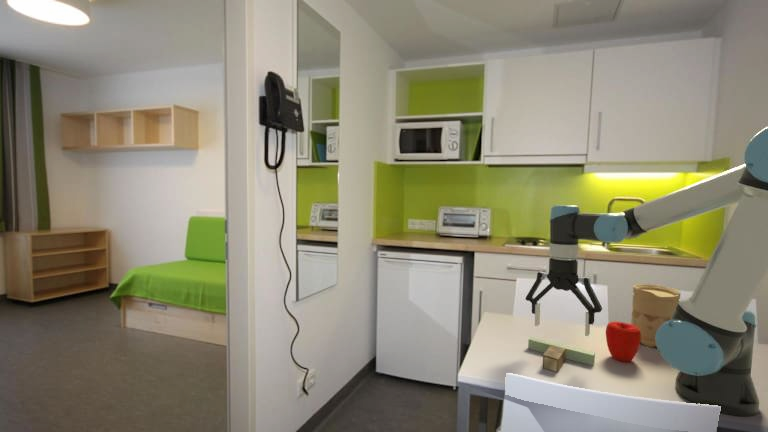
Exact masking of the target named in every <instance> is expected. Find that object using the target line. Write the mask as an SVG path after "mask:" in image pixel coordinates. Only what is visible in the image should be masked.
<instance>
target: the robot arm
mask: <svg viewBox="0 0 768 432" xmlns="http://www.w3.org/2000/svg"><path fill="white" fill-rule="evenodd" d="M743 157H744V164H742V165H739V166H737V167H734V168H731V169H729V170H725V171H724V172H722V173H719V174H717V175H713V176H711V177H709V178H708V177H707V178H706V179H703V180H701V181H698V182H695V183H693V184H690V185H687V186H686V187H683V188H680V189H678V190H675V191H672V192H670V193H667V194H664V195H662V196H659V197H657V198H654V199H652V200H649V201H647V202H643V203H642V204H641V203H640V204H638V205H636V206H635V207H632V208H629V209H626V210H623V211H620V212H604V213H603V212H601V213H600V212H599V213H597V212H592V213H591V212H581V211H580V207H579V206H578V205H569V204H568V205H561V204H560V205H557V204H556V205H553V206H552V207H551V208H550V210H551V211H550V219H549V224H550V225H549V227H550V229H549V234H550V235H549V236H550V237H549V238H550V240H549V253H548V254H549V256H550V258H549V260H548V272H544V271H542V270H541V271H539V272H537V273H536V280H535V281H534V283H533V285H532V286H531V288H530V289H529V292H528V293H527V295H526V297H525V301H529V302H530V303H531V314H533V315H534V326H535V327H538V326H539V325H540V324H541V302H539V301H540V300H541V299H542V298H543V297H544V296H545V295H546V294H547V293H548V292H550V291H551V289H553V288H554V289H556V290H562V291H566V292H568V291H570V292H571V293H572V294H574V296H576V298H577V299H578V301H579V302H580V303H581V304H582V305H583V307H584V308H585V309H586V310H587V311H586V312H585V321H584V322H585V325H584V336H585V337H589V335H590V327H591V325H594V323H595V314H596V313H601V312H602V311H603V306H602V304H601V303H600V301H599V299H598V297H597V295H596V292H595V290H594V288H593V286H592V284H591V278H590V277H589V276H585V277H584V276H583V277H582V276H579V275H578V266H579V262H578V259H577V258H579V240H580V241H581V240H585V241H592V242H602V243H613V244H615V243H616V244H618V243H621V242H623V241H624V240H631V239H636V238H638V237H640V236H642V235H643V234H647V233H648V232H651V231H655V230H658V229H661V228H664V227H667V226H670V225H672V224H677V223H679V222H682V221H685V220H688V219H691V218H694V217H698V216H700V215H704V214H707V213H710V212H714V211H717V210H719V209H723V208H726V207H729V206H732V205H736V204H737V206H736V207H735V209H734V211H733V213H732V215H731V217H730V219H729V221H728V223H727V225H726V227H725V229H724V231H723V233H722V235H721V237H720V238H719V241H718V243H717V245H716V247H715V249H714V251H713V253H712V255H711V257H710V259H709V261H708V262H707V265H706V267H705V269H704V270H703V273H702V275H701V276H700V278H699V280H698V283H697V284H696V286H695V288H694V290H693V291H692V293H691V296H690V297H685V298H680V299H679V303H678V305H677V307H676V308H675V310H674V312H673V314H672V316H671V318H670V320H669V321H666V322H665V323H663V324H662V325H661V326H660V327H659V328H658V330H657V332H656V336H655V341H656V348H657V350H658V351H659V353H660V356H661V357H662V358H663V359H664V360H665V361H666V363H668V365H670V366H671V367H673V369H676V370H677V371H679V372H678V373H677V374H676V377H675V381H674V382H675V385H674V388H675V390H676V391H677V393H678V394H679V395H681V396H682V397H683V398H685V399H687V400H688V401H690V402H692V403H694V404H696V403H700V404H709V405H718V406H721V412H720V413H723V414H727V415H732V416H738V417H739V416H740V417H751V416H755V415H757V414H759V410H760V399H759V396H758V394H757V390H756V387H755V384H754V382H753V379H752V365H753V354H754V345H755V344H754V343H755V332H756V327H757V324H756V314H754V313H753V312H752V311H751V310H749V309H748V307H749V305H750V304H751V302H752V300H753V298H754V296H755V295H756V293H757V292H758V290H759V287H760V286H761V284H762V283H763V280H764V279H765V278H766V276H767V274H768V126H766V127H765V128H763V129H762V130H760V131H759V132H758V133H756V134H755V135H754V136H753V137H752V138H751V140H750V141H749V142H748V144H747V145H746V148H745V150H744V155H743ZM546 278H547V279H548V282H549V284H548V285H547V286H546V287H545V288H543V289H542V290H541V291H540V292H539V293H538V294H537V295H536V296H535V297H533V296H534V295H535V294H536V292H537V290H538V288H539V287H540V285H541V283H542V282H543V280H545V279H546ZM579 282H580V283H581V285H583V287H584V289H585V291H586V293H587V295H588V297H589V299H590V301H591V303H592V304H591V303H590V301H589V300H588V299H587V297H586V296H585V295H584V294H583V293H582V291H581V290H580V289H579V287H578V285H577V284H578V283H579Z"/></svg>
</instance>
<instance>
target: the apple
mask: <svg viewBox="0 0 768 432" xmlns="http://www.w3.org/2000/svg"><path fill="white" fill-rule="evenodd" d="M605 337H606V338H605V340H606V345H607V349H608V352H609V353H610V355H611V357H612V358H613V359H615V360H617V361H620V362H623V363H624V362H626V363H627V362H628V363H629V362H632V361H633V359H634V358H635V356H636V355H637V353H638V351H639V349H640V346H641V344H642V343H641V332H640V329H639V328H637V327H636V326H634V325H631V323H627V322H621V321H611V322H608V324H606V328H605Z"/></svg>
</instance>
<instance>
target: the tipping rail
mask: <svg viewBox="0 0 768 432" xmlns="http://www.w3.org/2000/svg"><path fill="white" fill-rule="evenodd" d="M551 345H554V346H558V347H562V348H566V354H565V360H566V359H567V360H569V361H570V360H571V361H574V362H577V363H582V364H585V365H589V366H594V365H595V358H596V352H594V351H590V350H585V349H581V348H579V347H577V348H576V347H574V346H570V345H564V344H560V343H557V342H553V341H548V340H545V339H541V338H535V337H532V336H530V337H529V338H528V344H527V346H528V347H527V348H528V350H532V351H536V352H538V353H543V354H544V353H545V352H546V351H547V349H548V348H549V347H550V346H551Z"/></svg>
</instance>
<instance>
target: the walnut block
mask: <svg viewBox="0 0 768 432" xmlns="http://www.w3.org/2000/svg"><path fill="white" fill-rule="evenodd" d="M565 354H566V348H562V347H558V346H554V345H551V346H550V347H549V348H548V349H547V351H546V352H545V353H543V355H542V369H544V370H547V371H551V372H556V373H559V372H560V370H561V368H562V367H563V365H564V364H565V362H566V358H565Z"/></svg>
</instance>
